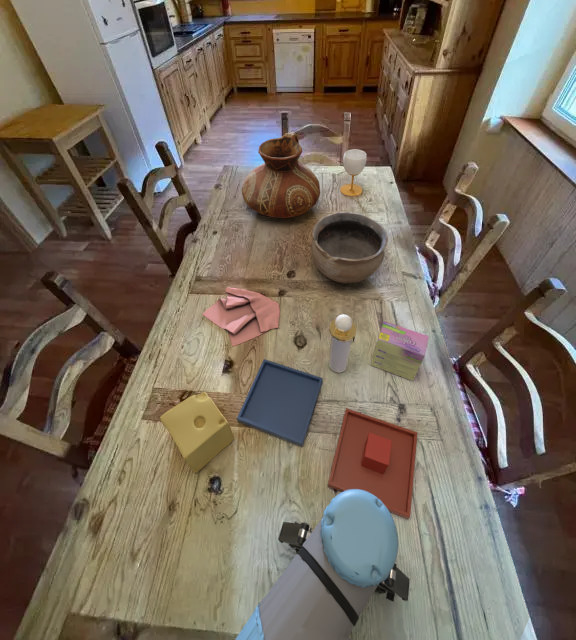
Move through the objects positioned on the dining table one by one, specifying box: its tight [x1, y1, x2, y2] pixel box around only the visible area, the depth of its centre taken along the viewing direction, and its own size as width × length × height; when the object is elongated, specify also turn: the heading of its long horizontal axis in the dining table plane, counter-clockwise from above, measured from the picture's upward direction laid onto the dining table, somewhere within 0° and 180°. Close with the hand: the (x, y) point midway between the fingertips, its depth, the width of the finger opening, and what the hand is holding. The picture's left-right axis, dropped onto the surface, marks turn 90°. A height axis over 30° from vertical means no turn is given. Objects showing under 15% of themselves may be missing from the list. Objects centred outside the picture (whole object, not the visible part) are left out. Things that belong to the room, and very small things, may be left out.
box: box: [370, 320, 430, 382], centre depth 81 cm, size 10×6×12 cm, turn 65°
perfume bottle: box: [328, 313, 357, 373], centre depth 78 cm, size 6×6×20 cm
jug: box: [241, 132, 321, 219], centre depth 127 cm, size 30×30×25 cm
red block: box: [361, 433, 392, 474], centre depth 67 cm, size 4×4×6 cm
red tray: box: [327, 407, 419, 520], centre depth 69 cm, size 15×15×2 cm
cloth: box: [201, 287, 281, 347], centre depth 97 cm, size 20×22×2 cm
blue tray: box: [236, 358, 324, 448], centre depth 78 cm, size 15×15×2 cm
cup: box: [340, 148, 368, 197], centre depth 135 cm, size 9×9×16 cm
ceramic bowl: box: [310, 211, 389, 284], centre depth 103 cm, size 22×22×15 cm
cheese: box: [159, 391, 236, 474], centre depth 70 cm, size 10×11×10 cm
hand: (338, 563), depth 58 cm, fingers open, 13 cm apart
